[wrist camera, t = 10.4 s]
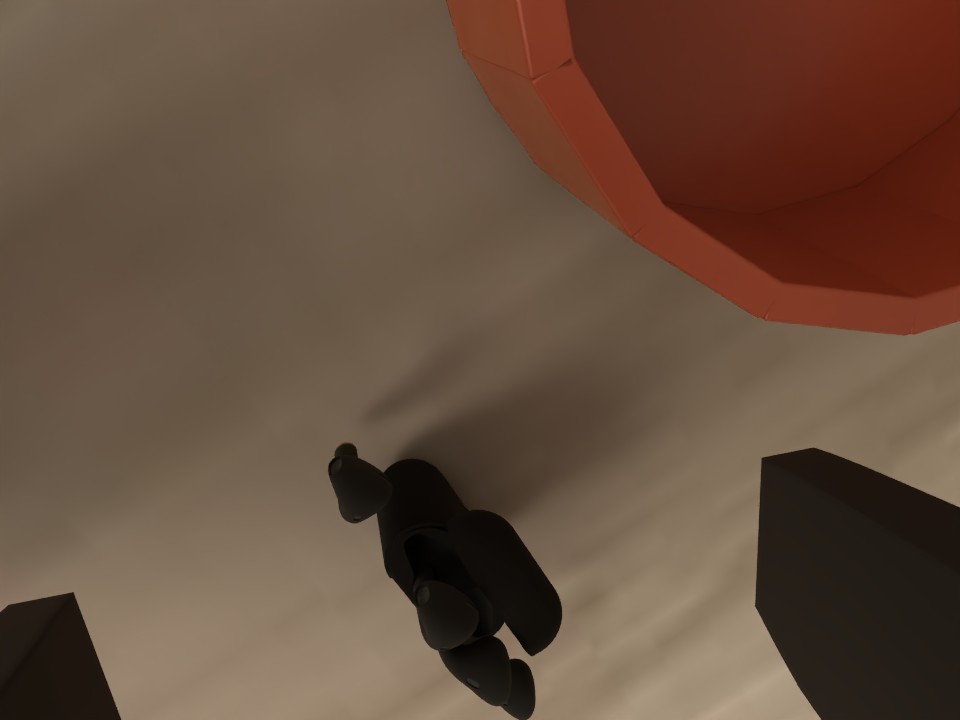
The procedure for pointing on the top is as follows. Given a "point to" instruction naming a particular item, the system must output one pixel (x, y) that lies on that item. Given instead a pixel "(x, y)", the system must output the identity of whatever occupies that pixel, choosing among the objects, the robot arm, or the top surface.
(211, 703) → the top surface
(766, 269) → the pan
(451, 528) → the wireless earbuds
